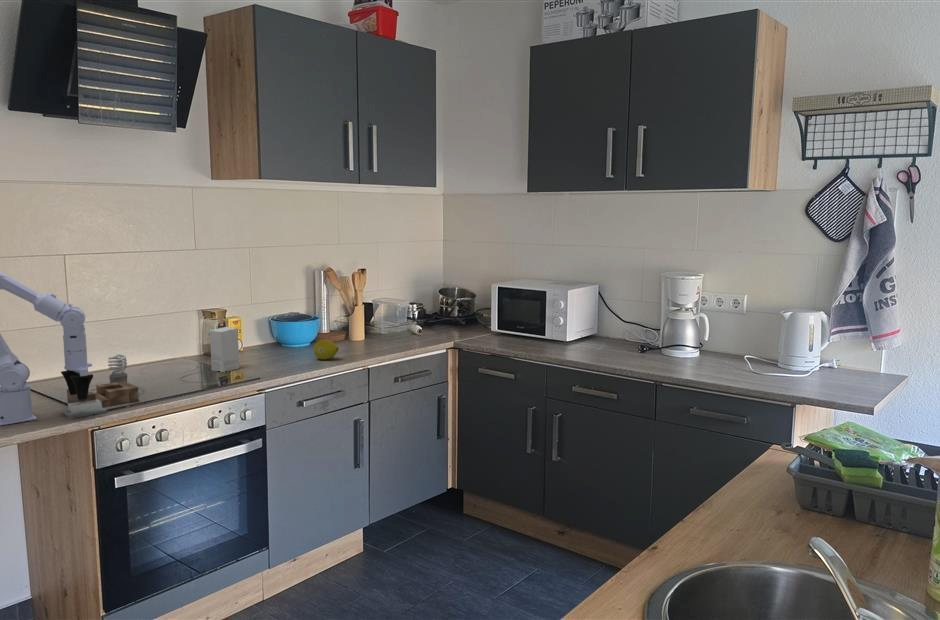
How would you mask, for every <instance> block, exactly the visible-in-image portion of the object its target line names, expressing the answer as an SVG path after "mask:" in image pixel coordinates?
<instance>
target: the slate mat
mask: <svg viewBox="0 0 940 620" xmlns="http://www.w3.org/2000/svg"><path fill="white" fill-rule="evenodd" d="M107 412H108V410H107V408H106V407H102V410H98V411H92V412H85V413H79V414H70V413H69V412H68V410H67V411H63V412H62V414H63V416H64V417H66V418H67V419H69V420H71V419H74V418H75V419H77V418H81V417H87V416H94V415H93V414H95V415H100V413H101V414H106V413H107Z"/></svg>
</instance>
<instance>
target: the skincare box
mask: <svg viewBox="0 0 940 620" xmlns="http://www.w3.org/2000/svg"><path fill="white" fill-rule="evenodd" d="M209 338H210V339H209V340H210V343H209V344H210V356H211V357H210V360H211V361H210V362H211V363H210V364H211V371H212V372H216V371H220V372H219V373H222V372H224V373H226V372H225V371H227V372H231V371H234V370H239V369H240V356H239V355H240V353H239V352H240V349H239V328H238V327H232V326H224V327H220V328H214V329H209Z"/></svg>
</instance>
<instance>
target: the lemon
mask: <svg viewBox="0 0 940 620" xmlns="http://www.w3.org/2000/svg"><path fill="white" fill-rule="evenodd" d="M338 352H339V346H338V345H337V344H336V343H335V342H333V341H332V340H330V339H329V340H328V339H321V340H318V341H316V343H315V344H314V347H313V354H314V356H315V357H316V358H317V359H318V360H321V361H322V360H323V361H327V360H331V359H332V358H334V357H335V356H336V355H337V353H338Z"/></svg>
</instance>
